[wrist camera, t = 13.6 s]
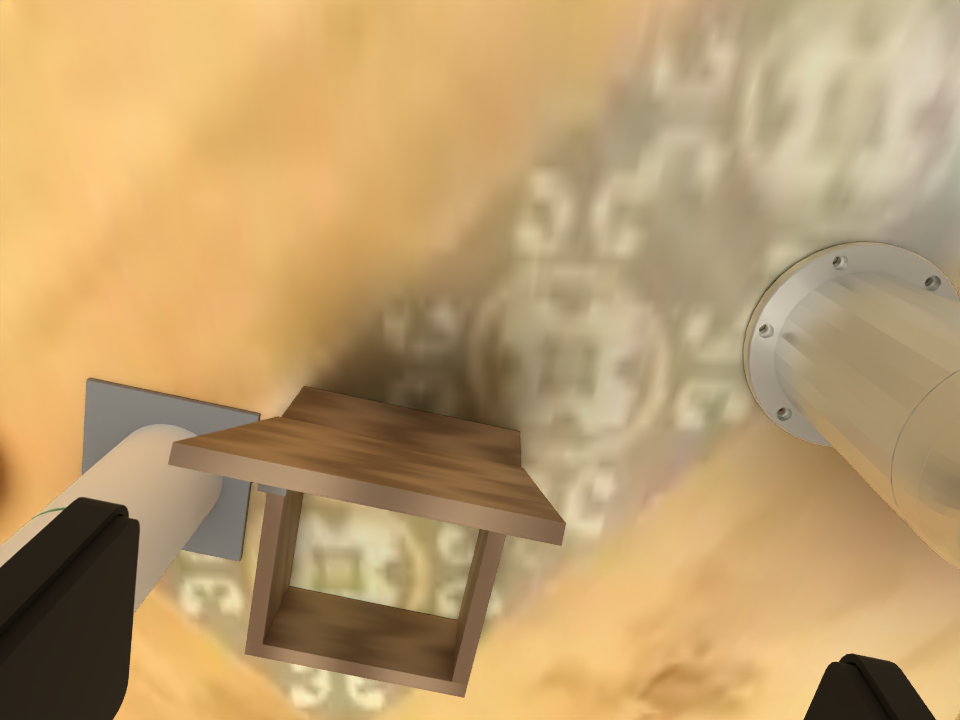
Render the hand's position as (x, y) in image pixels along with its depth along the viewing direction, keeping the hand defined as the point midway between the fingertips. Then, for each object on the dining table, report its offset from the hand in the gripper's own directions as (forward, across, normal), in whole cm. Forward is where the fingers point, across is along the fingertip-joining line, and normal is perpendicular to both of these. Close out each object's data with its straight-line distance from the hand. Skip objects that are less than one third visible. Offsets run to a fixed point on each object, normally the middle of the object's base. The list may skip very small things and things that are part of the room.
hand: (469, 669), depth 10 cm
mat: (+36, +18, +20) cm, 45 cm away
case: (+36, +3, +17) cm, 40 cm away
